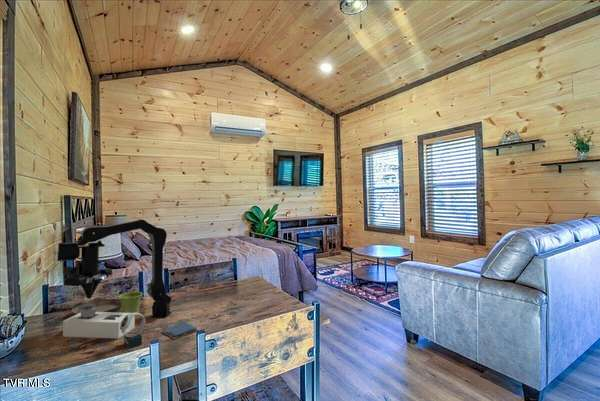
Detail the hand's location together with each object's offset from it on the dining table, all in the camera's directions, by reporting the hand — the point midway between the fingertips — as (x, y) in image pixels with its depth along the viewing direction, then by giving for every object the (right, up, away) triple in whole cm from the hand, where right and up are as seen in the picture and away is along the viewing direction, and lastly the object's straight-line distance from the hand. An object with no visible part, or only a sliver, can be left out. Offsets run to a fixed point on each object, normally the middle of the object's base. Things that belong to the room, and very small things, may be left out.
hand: (88, 298), depth 121 cm
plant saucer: (-10, -14, +22) cm, 28 cm away
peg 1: (-1, -9, 0) cm, 9 cm away
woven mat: (+36, -14, +1) cm, 38 cm away
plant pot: (+6, -14, +20) cm, 25 cm away
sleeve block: (+4, -13, 0) cm, 14 cm away
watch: (+23, -14, -10) cm, 29 cm away
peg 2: (+9, -13, 0) cm, 16 cm away
